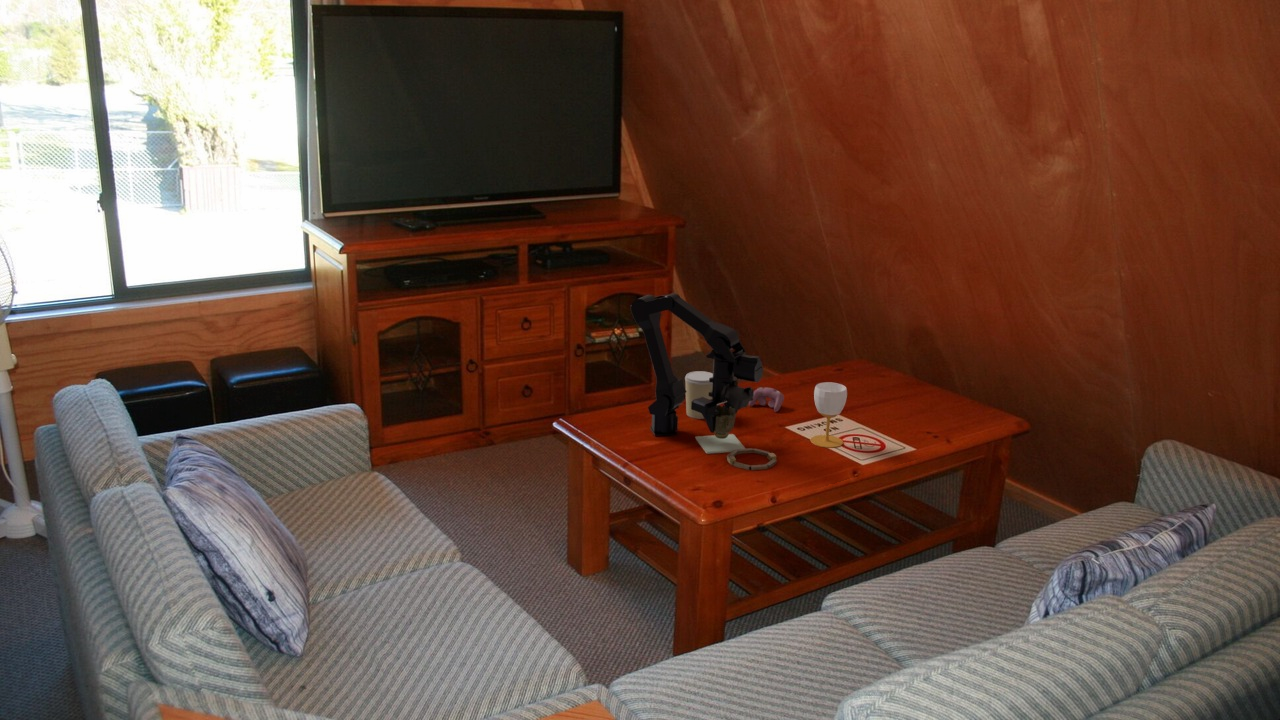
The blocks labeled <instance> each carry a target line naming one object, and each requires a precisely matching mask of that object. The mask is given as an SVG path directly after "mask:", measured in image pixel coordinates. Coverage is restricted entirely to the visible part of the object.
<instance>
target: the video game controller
mask: <svg viewBox="0 0 1280 720" xmlns="http://www.w3.org/2000/svg"><path fill="white" fill-rule="evenodd" d="M753 391H754V396H753V400H752V401H749V403H748V406H749V407H750V408H751V407H753V406H755V405H756V403H757V401H758V404H759V405H760V406H763V407H765V406H766V405H768V406H769V408H771V409H773V411H774V412H775V413H777V412H779V410H780V409H781V406H782V404H783V402H784V400H785V395H784V393H782V392H780V391H779V390H777V389H775V388H773V387H757V389H756V388H755V390H753ZM768 398H769V401H768V400H767V399H768ZM767 402H768V403H767Z"/></svg>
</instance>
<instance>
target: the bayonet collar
mask: <svg viewBox="0 0 1280 720" xmlns="http://www.w3.org/2000/svg"><path fill="white" fill-rule="evenodd" d="M751 453H752V454H758V455H761V456H764V457H765V456H766V458H767V459H768V460H769V461H768V462H767V463H765V464H757V465H756V464H754V465H753V464H752V465H750V464H745V463H742V462H738V461H737V459H736V457H735V456H737V455H739V454H751ZM726 460H727V462H728V463H729V464H730V465H731V466H733V467H735V468H740V469H742V470H743V469H744V470H747V471H750V470H751V471H758V470H759V471H760V470H768V469H771V468H772V467H773V466H775V465H776V464H777V463H778V459H777V455H776V454H775V453H774V452H770V451H768V450H763V449H758V448H752V447H751V448H749V447H748V448H745V449H737V450H734V451H732V452H728V454H727V455H726Z"/></svg>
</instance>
